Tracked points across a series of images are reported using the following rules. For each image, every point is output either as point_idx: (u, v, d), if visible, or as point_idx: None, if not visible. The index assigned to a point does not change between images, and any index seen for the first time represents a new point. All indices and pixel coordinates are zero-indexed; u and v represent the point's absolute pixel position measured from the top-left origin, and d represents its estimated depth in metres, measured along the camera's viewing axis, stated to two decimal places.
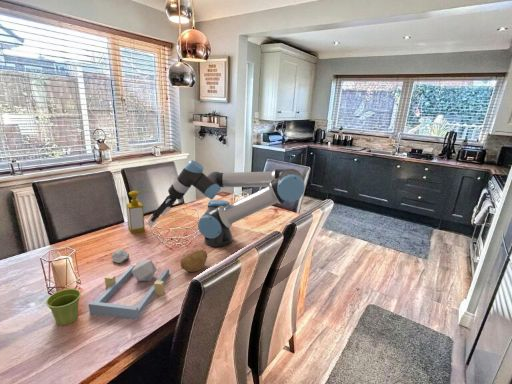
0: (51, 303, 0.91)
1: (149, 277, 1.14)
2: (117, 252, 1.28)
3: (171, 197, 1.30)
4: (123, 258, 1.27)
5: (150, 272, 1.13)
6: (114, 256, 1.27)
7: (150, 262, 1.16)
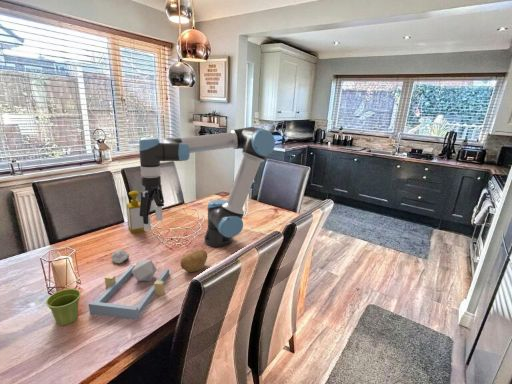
0: (51, 303, 0.91)
1: (149, 277, 1.14)
2: (117, 252, 1.28)
3: (147, 187, 1.13)
4: (123, 258, 1.26)
5: (150, 272, 1.13)
6: (114, 256, 1.27)
7: (150, 262, 1.16)
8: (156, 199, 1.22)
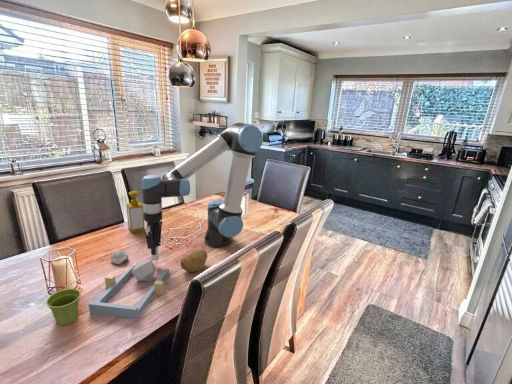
0: (51, 303, 0.91)
1: (149, 277, 1.14)
2: (116, 253, 1.27)
3: (149, 223, 1.17)
4: (122, 259, 1.26)
5: (150, 272, 1.13)
6: (113, 257, 1.27)
7: (150, 262, 1.16)
8: None
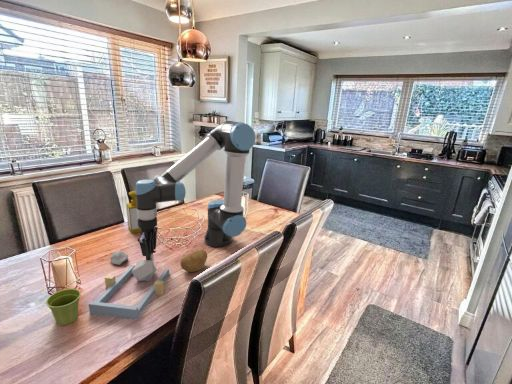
0: (51, 303, 0.91)
1: (149, 277, 1.14)
2: (116, 254, 1.27)
3: (143, 230, 1.13)
4: (122, 259, 1.26)
5: (150, 272, 1.13)
6: (113, 258, 1.26)
7: (150, 262, 1.16)
8: None
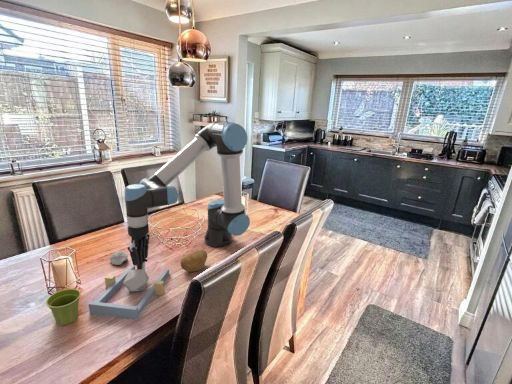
0: (51, 303, 0.91)
1: (143, 287, 1.08)
2: (115, 254, 1.26)
3: (134, 238, 1.06)
4: (122, 260, 1.25)
5: (144, 282, 1.07)
6: (113, 258, 1.26)
7: (142, 271, 1.09)
8: None
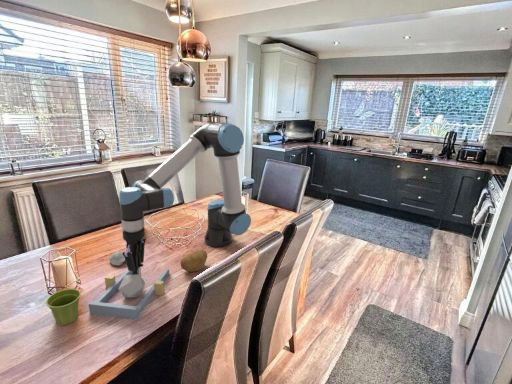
0: (51, 303, 0.91)
1: (139, 293, 1.05)
2: (115, 254, 1.26)
3: (129, 243, 1.02)
4: (122, 260, 1.25)
5: (140, 287, 1.04)
6: (112, 259, 1.25)
7: (138, 276, 1.06)
8: (136, 255, 1.09)
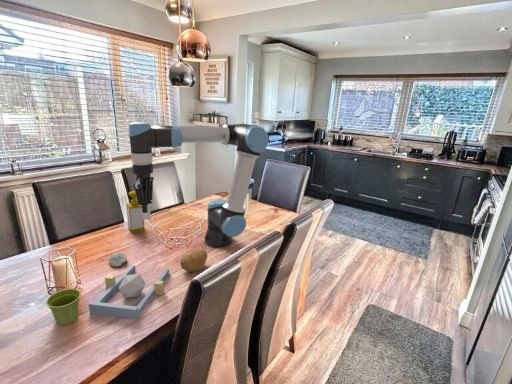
0: (51, 303, 0.91)
1: (139, 292, 1.05)
2: (115, 255, 1.25)
3: (139, 175, 1.06)
4: (122, 261, 1.24)
5: (140, 287, 1.04)
6: (112, 260, 1.25)
7: (139, 276, 1.06)
8: None
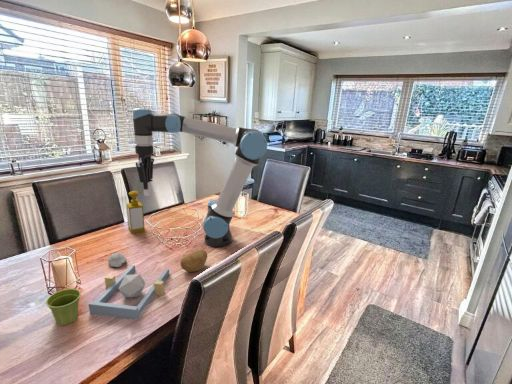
0: (51, 303, 0.91)
1: (139, 292, 1.05)
2: (114, 256, 1.25)
3: (140, 155, 1.21)
4: (121, 262, 1.24)
5: (140, 287, 1.04)
6: (111, 260, 1.24)
7: (139, 276, 1.06)
8: None
